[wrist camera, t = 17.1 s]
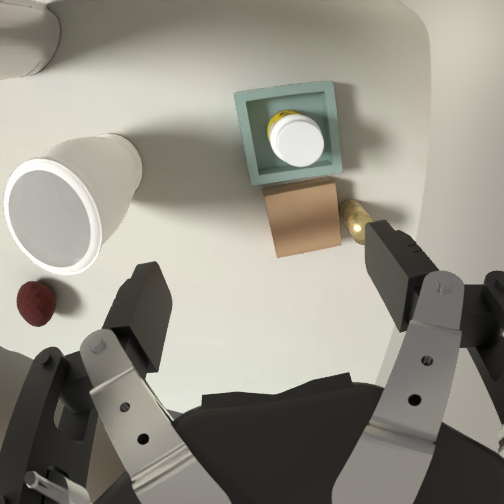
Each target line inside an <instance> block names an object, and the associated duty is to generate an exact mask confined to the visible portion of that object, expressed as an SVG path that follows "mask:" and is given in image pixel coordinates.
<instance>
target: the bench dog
mask: <svg viewBox="0 0 504 504" xmlns="http://www.w3.org/2000/svg"><path fill="white" fill-rule="evenodd" d="M339 215H340V217H341V219H342V220H343V222H344V223H345V225H346V227H347V228H348V230H349V231H350V233H351V235H352V236H353V238H354V240H355V241H356V242H357V243H358V244H361V245H365V225H366V223H369V222H374V220H373V219H372V218H371V217H370V215H369V214H368V213H367V212H366V210H365V209H364V208H363V207H362V206H361V204H360V203H359V202H358V201H356V200H353V199H350V200H346V201H345V202H343V203H342V204H341V206H340V208H339Z"/></svg>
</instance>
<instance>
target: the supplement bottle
mask: <svg viewBox="0 0 504 504" xmlns="http://www.w3.org/2000/svg"><path fill="white" fill-rule="evenodd" d="M267 136H268V139H269V141H270V144H271V147H272V149H273V151H274V153H275V154H276V155H277V156H278V157H279V158H280V159H281V160H283V161H285V162H287V163H288V164H290V165H293V166H297V167H304V166H308V165H311V164H313V163H314V162H316V161H317V160H318V159H319V157H320V156H321V154H322V152H323V149H324V139H323V136H322V133H321V130H320V128H319V126H318V125H317V124H316V122H315V121H314V120H312V119H311V118H309V117H308V116H306V115H304V114H302V113H301V112H299V111H296V110H291V109H286V110H281V111H279V112H277V113H275V114H274V115H273V116H272V117H271V118H270V120H269V122H268V125H267Z"/></svg>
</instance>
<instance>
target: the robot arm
mask: <svg viewBox="0 0 504 504" xmlns="http://www.w3.org/2000/svg"><path fill="white" fill-rule="evenodd" d="M59 38H60V25H59V21H58V19H57V17H56V16H55V14H54V13H52V12H51V11H49V10H48V8H47V4H45V3H41V2H37V1H32V0H0V80H4V79H10V78H20V77H25V76H31V75H33V74H36V73H37V72H39V71H40V70H42V69H43V68H44V67H45V66H46V65H47V64H48V62H49V61H50V60H51V58H52V57H53V55H54V53H55V51H56V48H57V46H58V43H59ZM365 264H366V269H367V272H368V274H369V276H370V277H371V279H372V281H373V283H374V285H375V287H376V288H377V290H378V292H379V294H380V296H381V298H382V299H383V301H384V303H385V305H386V307H387V309H388V311H389V313H390V315H391V317H392V319H393V320H394V322H395V324H396V326H397V328H398V330H399V332H404V331H406V334H405V337H404V340H403V343H402V346H401V348H400V351H399V354H398V356H397V359H396V362H395V364H394V367H393V370H392V372H391V374H390V377H389V379H388V382H387V384H386V386H385V388H383V387H380V386H377V385H373V384H368V383H360V382H352V380H351V377H350V373H349V372H348V373H343V374H339V375H334V376H330V377H325V378H320V379H315V380H312V381H309V382H307V383H304V384H302V385H300V386H297V387H295V388H292V389H290V390H287V391H284V392H282V393H279V394H274V395H272V394H258V393H247V392H229V393H219V394H208V395H202V405H201V406H199V407H196V408H194V409H191V410H189V411H187V412H185V413H184V414H182V415H180V416H179V417H178V418H176V419H175V420H174V419H173V418H172V417H171V416H170V414H169V413H168V411H167V410H166V409H165V407H164V406H163V404H162V403H161V402H160V400H159V399H158V397H157V396H156V394H155V393H154V391H153V390H152V388H151V387H150V385H149V384H148V383H147V381H146V380H145V378H146V374H147V373H154V372H158V371H159V366H160V361H161V356H162V351H163V346H164V342H165V337H166V332H167V328H168V323H169V319H170V315H171V310H172V297H171V293H170V291H169V288H168V286H167V284H166V281H165V279H164V277H163V274H162V272H161V269H160V267H159V265H158V263H157V262H155V261H154V262H148V263H143V264H138V265H137V266H136V268H135V270H134V272H133V274H132V277H131V279H127V280H126V281H125V283H124V284H123V285H122V286H121V287H120V288H119V290H118V292H117V295H116V299H114V301H113V304H112V305H113V306H111V308H110V310H109V313H108V315H107V317H106V320H105V322H104V325H103V327H102V329H101V330H97V331H95V332H93V333H91V334H90V335H89V336H87V337H86V338H85V340H84V341H83V342H82V344H81V347H80V351H77V352H75V353H72V354H69V355H66V356H64V355H63V353H62V352H61V351H60V350H59V349H58V348H57V347H49V348H46V349H44V350H43V351H41V352H40V353H39V354H38V355H37V356H36V357H35V359H34V361H33V363H32V365H31V368H30V370H29V372H28V375H27V377H26V379H25V382H24V384H23V387H22V389H21V392H20V395H19V397H18V400H17V402H16V405H15V408H14V411H13V414H12V416H11V419H10V422H9V425H8V428H7V431H6V435H5V438H4V441H3V444H2V448H1V451H0V504H92V503H91V502H90V497H89V495H88V493H87V491H86V482H87V475H88V468H89V462H90V456H91V450H92V445H93V439H94V434H95V429H96V424H97V419H98V414H99V416H100V419H101V421H102V423H103V425H104V427H105V429H106V431H107V433H108V436H109V438H110V440H111V442H112V444H113V446H114V448H115V449H116V451H117V454H118V455H119V457H120V459H121V461H122V463H123V465H124V467H125V468H126V471H125V472H124V473H123V474H122V475H121V476H120V477H119V478H118V479H117V480H116V481H115V482H114V483H113V484H112V485H111V486H110V487H109V488H108V489H107V490H106V491H105V492H104V493H103V494H102V495H101V496H100V497H99V498H98V499H97V500H96V501H95V502H94V503H93V504H504V337H503V335H502V334H503V332H504V272H503V271H492V272H490V273H488V274H487V275H486V277H485V281H484V284H482V285H465V284H464V283H463V281H462V280H461V279H460V278H459V277H458V276H456V275H455V274H453V273H451V272H447V271H439V269H438V268H437V267H436V266H435V265H434V263H433V262H432V261H431V260H430V258H429V257H428V256H427V255H426V254H425V252H424V251H422V249H421V248H420V247H419V246H418V245H417V244H416V242H415V241H414V240H413V239H412V237H411V236H409V235H408V234H406V233H404V232H402V231H400V230H397V231H395V230H394V229H393V228H392V227H391V226H390V224H389V223H388V222H387V221H386V220H380V221H374V222H369V223H366V225H365ZM459 348H467V349H468V351H469V353H470V355H471V357H472V359H473V361H474V363H475V365H476V367H477V369H478V371H479V373H480V375H481V378H482V379H483V382H484V384H485V386H486V388H487V390H488V393H489V395H490V397H491V399H492V402H493V404H494V406H495V409H496V411H497V413H498V416H499V419H500V421H501V423H502V428H501V429H500V432H499V437H498V440H499V441H498V442H499V446H498V453H499V454H500V455H499V454H498V453H496V452H495V451H493V450H491V449H489V448H488V447H486V446H484V445H482V444H480V443H478V442H477V441H475V440H473V439H471V438H470V437H468V436H466V435H464V434H462V433H461V432H459V431H457V430H455V429H454V428H452V427H450V426H448V425H446V424H445V423H443V422H442V419H443V415H444V412H445V408H446V405H447V401H448V398H449V394H450V390H451V386H452V381H453V377H454V372H455V368H456V363H457V358H458V352H459ZM58 400H59V401H60V402H61V403H62V404H63V405H64V409H63V412H62V416H61V419H60V423H59V427H58V429H57V427H56V426H55V424H54V412H55V409H56V406H57V402H58Z"/></svg>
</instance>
